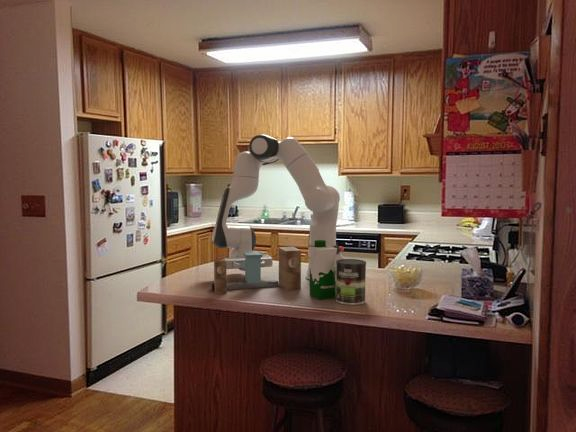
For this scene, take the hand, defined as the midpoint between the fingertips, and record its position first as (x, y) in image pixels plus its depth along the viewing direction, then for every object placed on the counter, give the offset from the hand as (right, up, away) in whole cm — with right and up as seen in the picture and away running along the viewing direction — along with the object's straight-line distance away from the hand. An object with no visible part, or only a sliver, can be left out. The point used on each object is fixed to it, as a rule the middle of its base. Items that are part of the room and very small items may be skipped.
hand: (251, 265), depth 194 cm
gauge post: (-11, -9, -10) cm, 17 cm away
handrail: (-2, -8, -3) cm, 9 cm away
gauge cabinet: (+15, -8, -1) cm, 17 cm away
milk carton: (+27, -10, -16) cm, 33 cm away
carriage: (+1, -6, -2) cm, 6 cm away
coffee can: (+36, -10, -22) cm, 44 cm away
